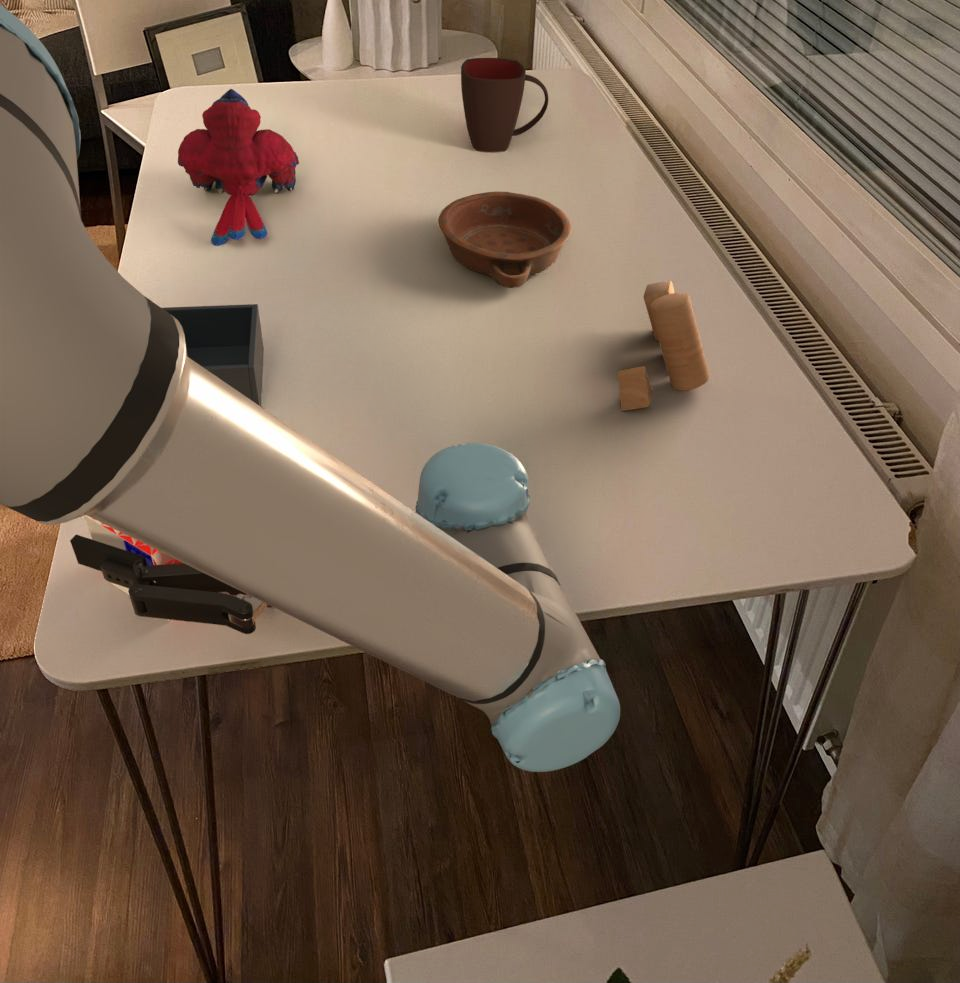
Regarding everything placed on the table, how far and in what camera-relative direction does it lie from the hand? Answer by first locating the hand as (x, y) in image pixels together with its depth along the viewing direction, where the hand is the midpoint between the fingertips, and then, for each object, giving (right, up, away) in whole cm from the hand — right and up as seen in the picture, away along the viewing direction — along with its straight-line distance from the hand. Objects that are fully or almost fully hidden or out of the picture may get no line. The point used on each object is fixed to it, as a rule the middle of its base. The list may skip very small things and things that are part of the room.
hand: (115, 509), depth 82 cm
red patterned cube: (+4, -6, +3) cm, 8 cm away
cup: (+35, +58, +74) cm, 100 cm away
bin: (+1, +14, +24) cm, 27 cm away
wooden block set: (+52, +15, +29) cm, 62 cm away
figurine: (-2, +40, +53) cm, 67 cm away
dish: (+34, +33, +48) cm, 67 cm away
